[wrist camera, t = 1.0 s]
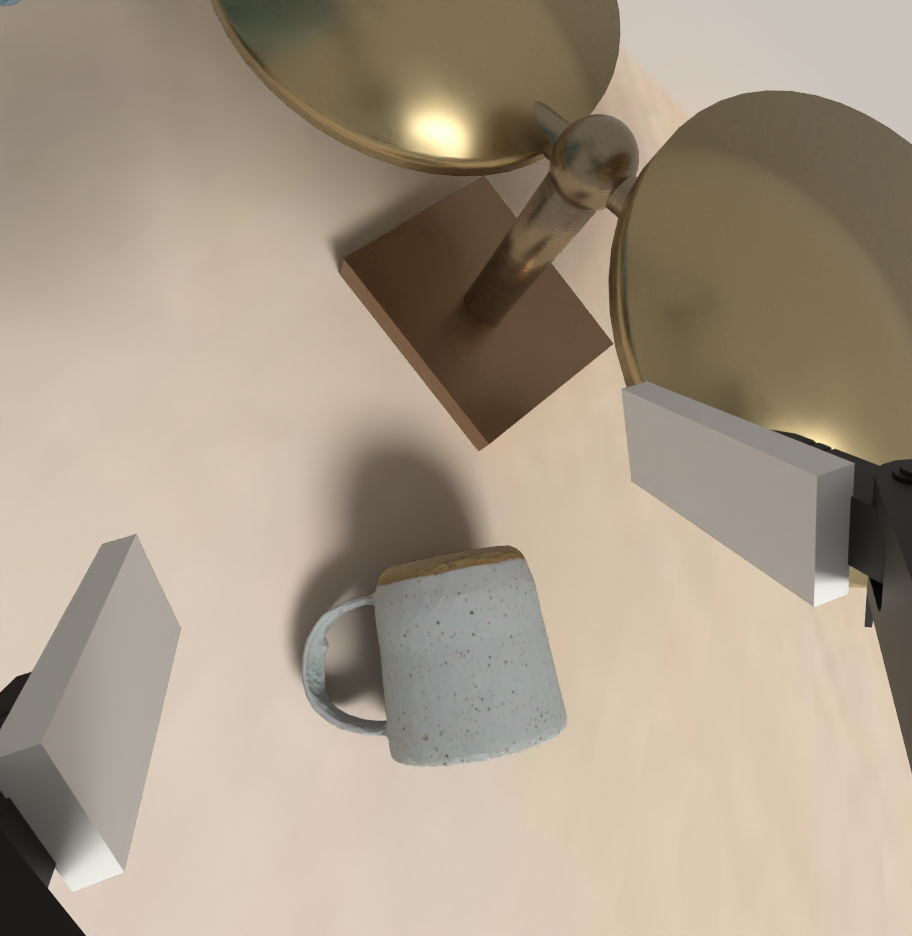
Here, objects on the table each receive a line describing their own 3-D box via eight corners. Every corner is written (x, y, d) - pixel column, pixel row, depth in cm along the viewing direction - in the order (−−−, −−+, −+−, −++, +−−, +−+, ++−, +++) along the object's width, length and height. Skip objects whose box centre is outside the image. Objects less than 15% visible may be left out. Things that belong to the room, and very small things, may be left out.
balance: (151, 121, 32) (39, -384, 16) (391, 17, 38) (494, -434, 21) (573, 657, 33) (886, 713, 17) (745, 477, 39) (1105, 386, 22)
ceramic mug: (494, 547, 33) (557, 532, 26) (526, 707, 32) (601, 738, 25) (288, 586, 30) (293, 582, 23) (315, 766, 29) (330, 822, 21)
